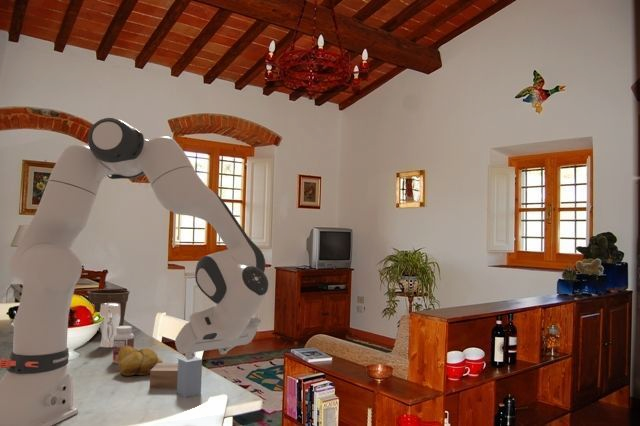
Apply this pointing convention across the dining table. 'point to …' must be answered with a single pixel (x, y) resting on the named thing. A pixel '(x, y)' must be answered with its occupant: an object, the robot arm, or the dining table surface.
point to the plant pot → (110, 300)
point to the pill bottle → (122, 340)
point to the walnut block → (164, 376)
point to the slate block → (189, 376)
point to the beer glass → (109, 323)
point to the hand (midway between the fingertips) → (205, 354)
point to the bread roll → (136, 360)
